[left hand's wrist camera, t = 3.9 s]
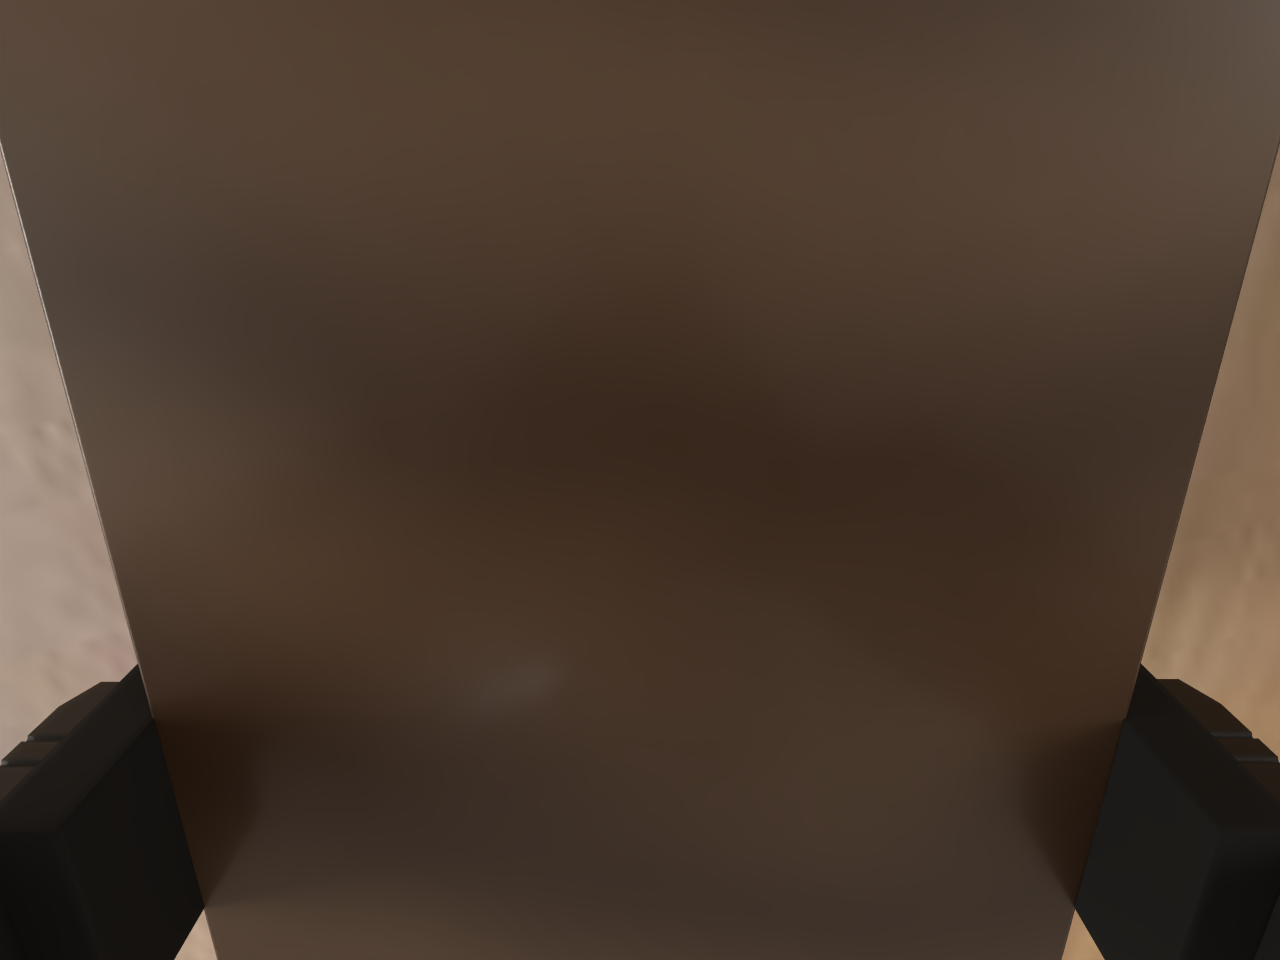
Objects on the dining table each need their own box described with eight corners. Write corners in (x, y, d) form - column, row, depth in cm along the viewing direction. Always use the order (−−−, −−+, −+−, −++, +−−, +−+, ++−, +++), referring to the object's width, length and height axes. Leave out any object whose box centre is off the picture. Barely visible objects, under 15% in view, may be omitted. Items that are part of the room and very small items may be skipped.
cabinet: (320, -317, 13) (-433, -1456, 4) (958, -317, 13) (1715, -1459, 4) (426, 633, 19) (239, 1046, 10) (852, 633, 19) (1039, 1046, 10)
